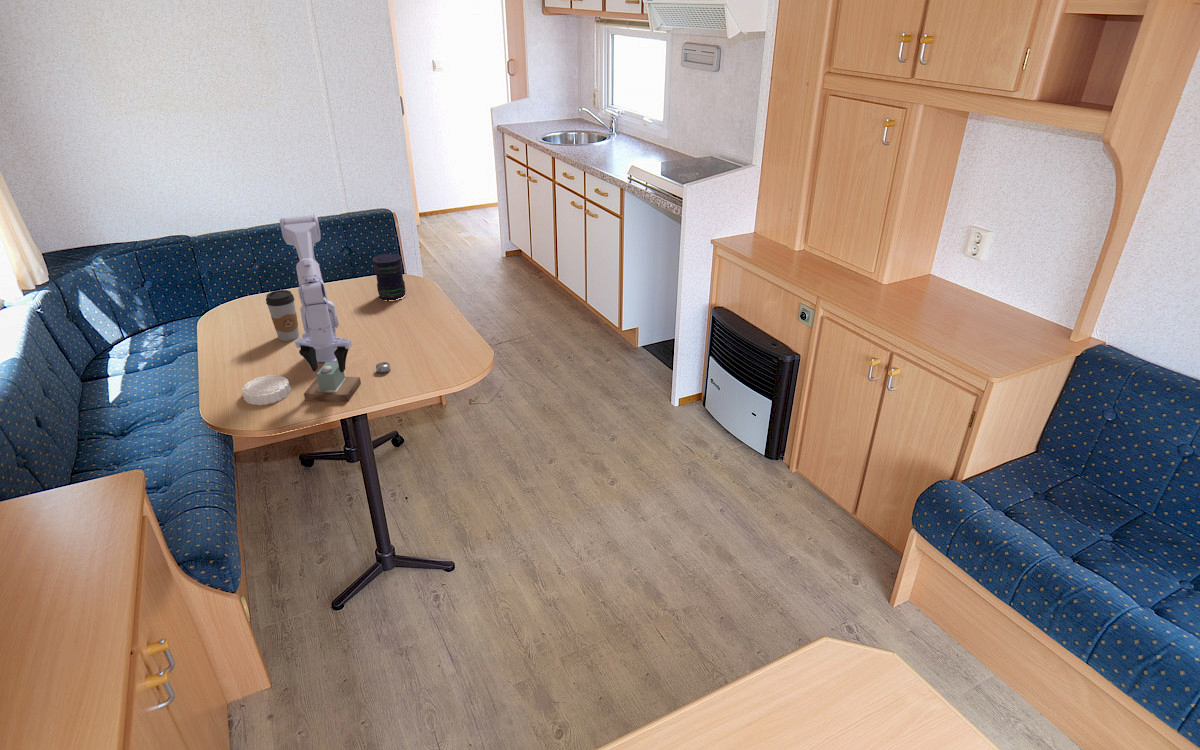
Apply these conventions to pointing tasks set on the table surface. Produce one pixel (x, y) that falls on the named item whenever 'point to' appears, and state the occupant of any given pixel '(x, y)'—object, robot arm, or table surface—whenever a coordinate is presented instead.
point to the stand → (333, 391)
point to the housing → (330, 376)
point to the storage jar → (389, 276)
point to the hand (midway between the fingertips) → (329, 370)
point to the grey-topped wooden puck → (383, 368)
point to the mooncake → (266, 390)
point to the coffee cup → (283, 314)
